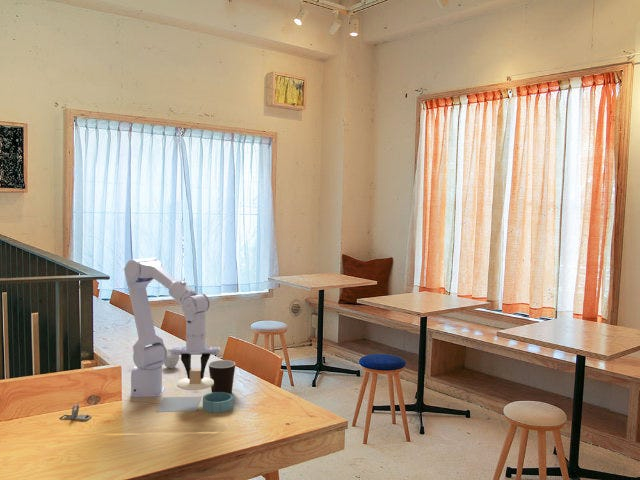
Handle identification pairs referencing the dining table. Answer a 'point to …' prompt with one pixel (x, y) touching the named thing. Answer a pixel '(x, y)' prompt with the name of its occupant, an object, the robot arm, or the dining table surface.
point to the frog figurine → (171, 360)
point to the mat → (179, 404)
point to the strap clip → (76, 415)
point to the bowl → (217, 402)
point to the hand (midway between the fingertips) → (195, 377)
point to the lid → (195, 381)
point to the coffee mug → (222, 375)
